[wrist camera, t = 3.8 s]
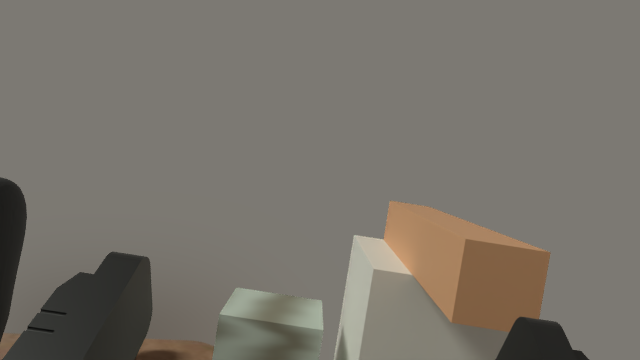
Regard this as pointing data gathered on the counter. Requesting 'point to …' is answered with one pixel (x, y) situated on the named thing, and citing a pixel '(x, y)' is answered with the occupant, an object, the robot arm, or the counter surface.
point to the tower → (268, 327)
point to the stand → (400, 315)
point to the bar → (468, 266)
